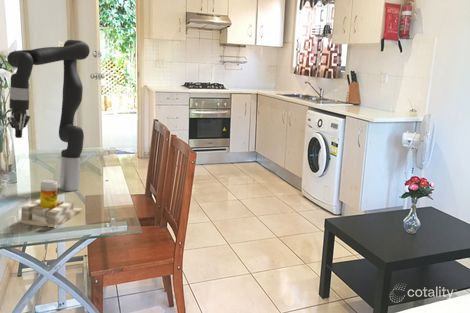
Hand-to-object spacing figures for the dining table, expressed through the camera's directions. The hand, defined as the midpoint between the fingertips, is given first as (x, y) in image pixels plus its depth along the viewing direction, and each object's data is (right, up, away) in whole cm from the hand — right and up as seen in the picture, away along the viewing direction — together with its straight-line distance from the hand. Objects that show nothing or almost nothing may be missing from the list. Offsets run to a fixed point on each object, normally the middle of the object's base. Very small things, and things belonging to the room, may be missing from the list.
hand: (18, 137), depth 179 cm
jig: (+20, -34, -10) cm, 40 cm away
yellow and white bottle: (+20, -33, -14) cm, 41 cm away
